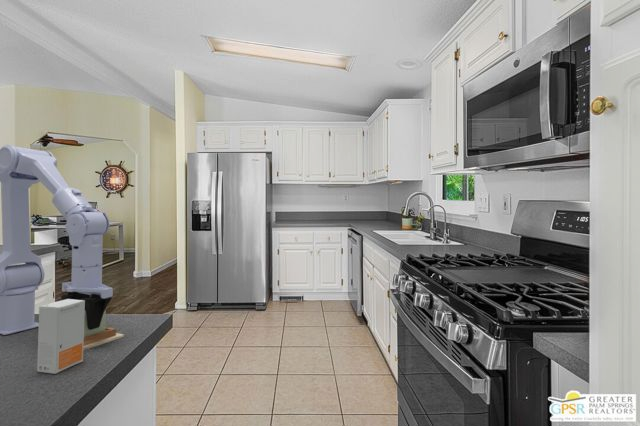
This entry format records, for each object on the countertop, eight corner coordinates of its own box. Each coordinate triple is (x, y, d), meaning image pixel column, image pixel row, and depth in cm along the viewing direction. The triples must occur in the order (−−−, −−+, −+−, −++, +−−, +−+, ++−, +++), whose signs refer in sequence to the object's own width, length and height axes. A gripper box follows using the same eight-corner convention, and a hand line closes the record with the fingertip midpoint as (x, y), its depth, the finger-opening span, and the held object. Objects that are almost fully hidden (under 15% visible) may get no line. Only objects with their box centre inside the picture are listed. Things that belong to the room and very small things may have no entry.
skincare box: (56, 374, 64) (57, 307, 64) (36, 372, 65) (37, 306, 65) (84, 361, 70) (85, 299, 70) (66, 359, 71) (67, 298, 71)
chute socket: (40, 346, 77) (41, 337, 77) (95, 330, 88) (96, 322, 88) (70, 355, 73) (70, 345, 73) (124, 336, 84) (124, 328, 84)
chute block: (66, 342, 78) (67, 314, 78) (94, 333, 84) (94, 308, 84) (78, 345, 77) (78, 317, 77) (105, 336, 82) (105, 310, 82)
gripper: (47, 265, 79) (46, 326, 79) (90, 270, 73) (89, 337, 73) (80, 261, 86) (79, 318, 86) (122, 266, 80) (120, 327, 80)
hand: (86, 326), depth 80 cm, fingers open, 5 cm apart
